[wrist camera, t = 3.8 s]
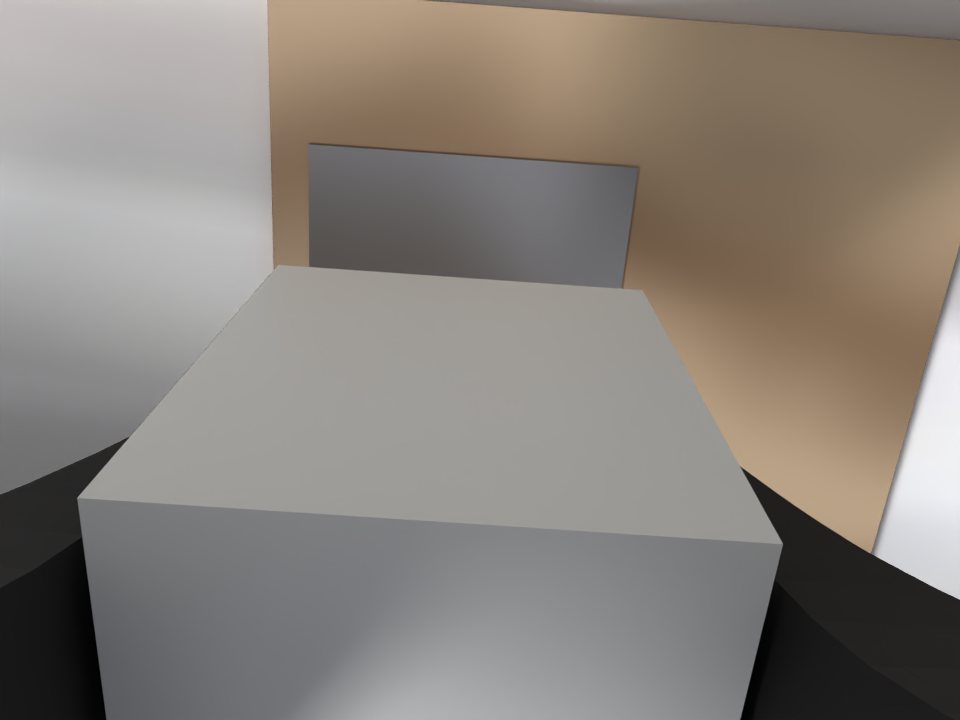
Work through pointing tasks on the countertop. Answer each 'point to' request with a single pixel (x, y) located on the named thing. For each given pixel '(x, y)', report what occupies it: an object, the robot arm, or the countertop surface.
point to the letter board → (651, 197)
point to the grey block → (428, 516)
